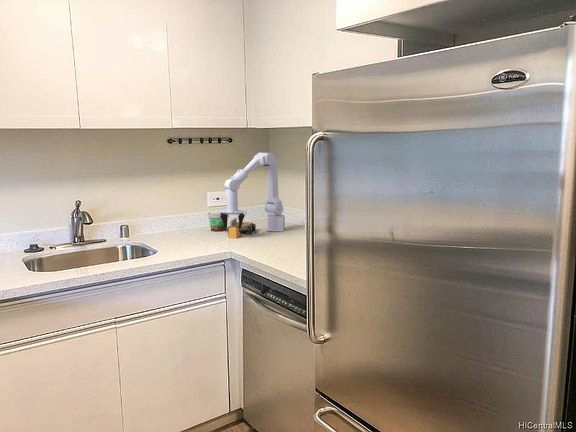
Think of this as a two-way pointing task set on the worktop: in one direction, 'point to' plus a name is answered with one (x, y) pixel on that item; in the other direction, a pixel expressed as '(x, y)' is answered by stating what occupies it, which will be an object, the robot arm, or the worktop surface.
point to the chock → (233, 232)
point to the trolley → (245, 225)
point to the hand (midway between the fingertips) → (233, 228)
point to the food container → (216, 222)
